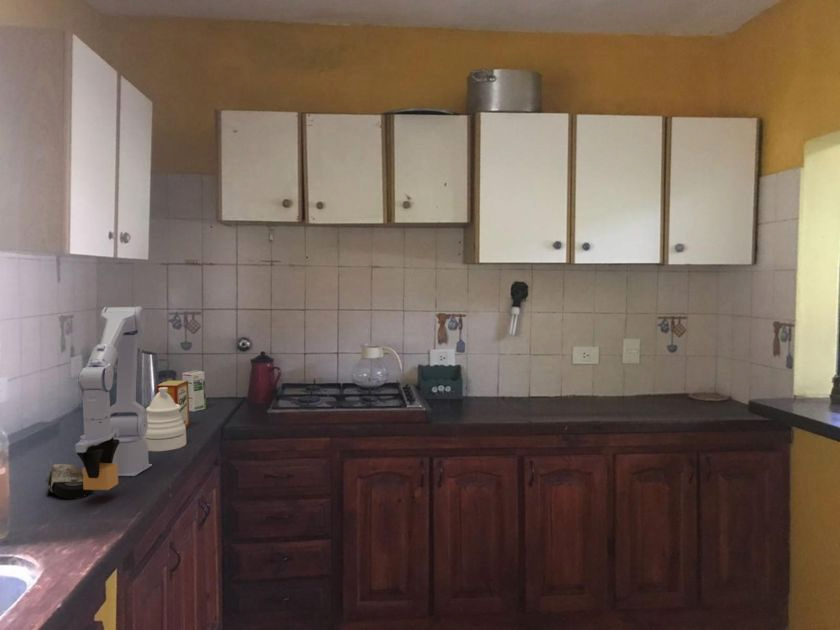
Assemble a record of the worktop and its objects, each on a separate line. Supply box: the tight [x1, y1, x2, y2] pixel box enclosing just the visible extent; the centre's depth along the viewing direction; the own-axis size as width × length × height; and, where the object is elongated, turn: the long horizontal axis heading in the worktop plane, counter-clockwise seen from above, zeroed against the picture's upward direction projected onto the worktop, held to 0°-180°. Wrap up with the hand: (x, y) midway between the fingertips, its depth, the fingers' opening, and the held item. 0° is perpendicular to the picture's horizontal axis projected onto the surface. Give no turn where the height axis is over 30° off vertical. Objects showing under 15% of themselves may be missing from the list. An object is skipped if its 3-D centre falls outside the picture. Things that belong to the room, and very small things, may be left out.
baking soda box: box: [156, 379, 191, 429], centre depth 226 cm, size 10×6×16 cm
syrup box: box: [182, 370, 207, 412], centre depth 255 cm, size 6×6×14 cm
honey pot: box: [144, 387, 187, 452], centre depth 206 cm, size 13×13×18 cm
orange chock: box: [81, 462, 119, 491], centre depth 160 cm, size 4×6×5 cm
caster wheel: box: [45, 461, 92, 500], centre depth 165 cm, size 7×11×10 cm
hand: (99, 474), depth 160 cm, fingers closed on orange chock, 4 cm apart
